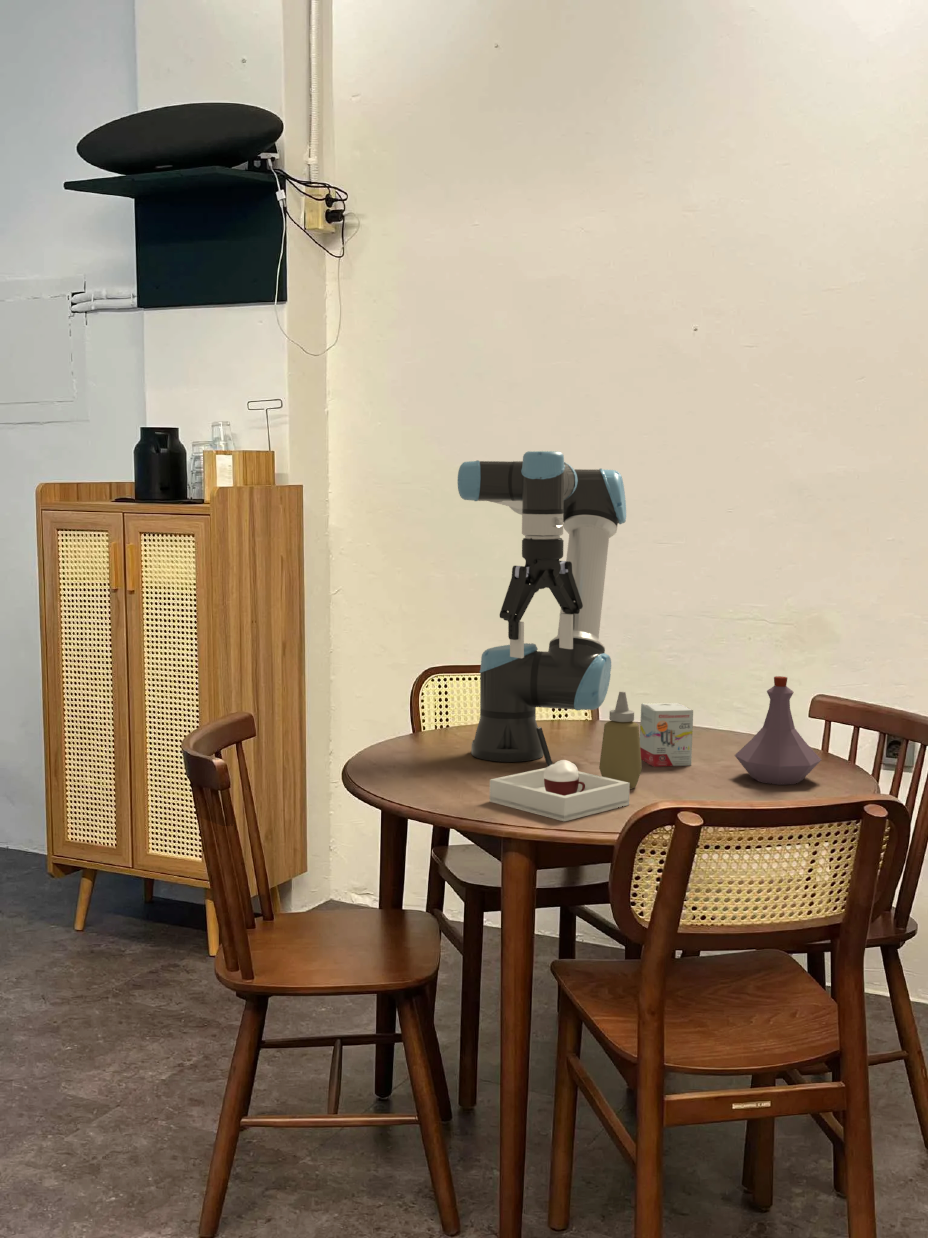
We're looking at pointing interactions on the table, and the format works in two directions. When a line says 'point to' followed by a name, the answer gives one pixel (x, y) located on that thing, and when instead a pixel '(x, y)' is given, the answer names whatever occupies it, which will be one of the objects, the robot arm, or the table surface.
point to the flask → (778, 744)
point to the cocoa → (559, 772)
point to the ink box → (666, 734)
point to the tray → (532, 796)
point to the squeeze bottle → (621, 745)
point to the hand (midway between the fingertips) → (542, 652)
